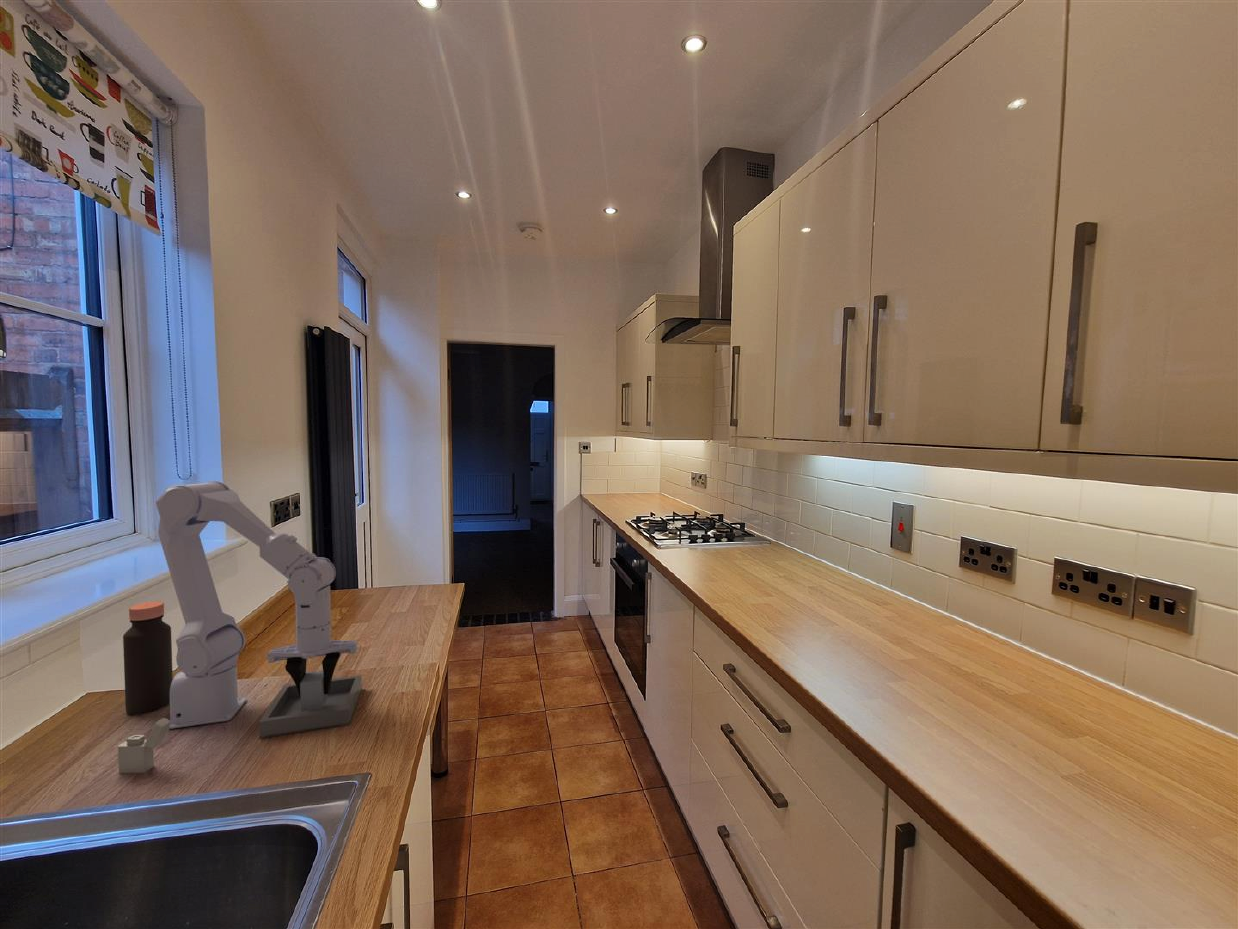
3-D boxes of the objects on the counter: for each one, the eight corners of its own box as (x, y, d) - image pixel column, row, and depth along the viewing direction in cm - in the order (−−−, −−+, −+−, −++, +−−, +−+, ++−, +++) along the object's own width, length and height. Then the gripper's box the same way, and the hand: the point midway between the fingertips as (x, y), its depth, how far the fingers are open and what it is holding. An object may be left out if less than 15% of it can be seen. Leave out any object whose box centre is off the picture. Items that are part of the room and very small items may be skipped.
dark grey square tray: (259, 738, 87) (258, 722, 87) (284, 699, 101) (284, 685, 100) (349, 725, 92) (348, 709, 92) (361, 689, 105) (361, 675, 105)
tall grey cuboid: (300, 712, 93) (300, 683, 93) (307, 700, 97) (306, 672, 97) (322, 709, 94) (321, 680, 94) (327, 697, 98) (327, 670, 98)
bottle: (155, 695, 102) (152, 598, 101) (182, 699, 100) (179, 601, 99) (116, 713, 95) (112, 609, 94) (144, 717, 94) (140, 612, 93)
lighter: (117, 773, 78) (115, 723, 78) (128, 766, 80) (126, 717, 79) (164, 773, 78) (162, 723, 78) (173, 765, 80) (172, 717, 80)
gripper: (261, 635, 89) (263, 710, 90) (352, 627, 94) (353, 697, 95) (274, 622, 96) (276, 691, 97) (358, 614, 101) (359, 680, 101)
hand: (314, 693), depth 96 cm, fingers closed on tall grey cuboid, 3 cm apart
